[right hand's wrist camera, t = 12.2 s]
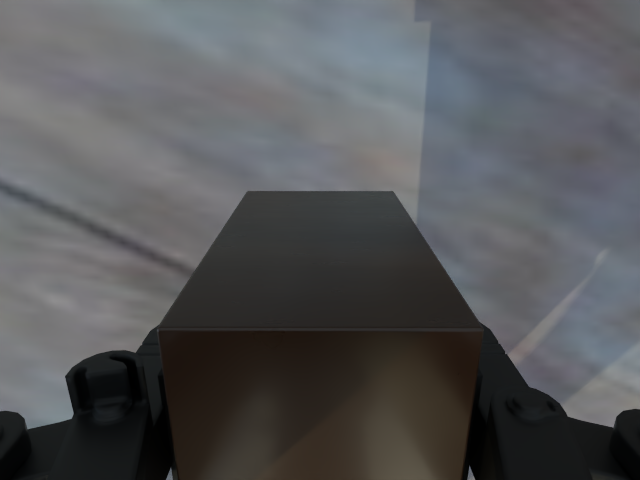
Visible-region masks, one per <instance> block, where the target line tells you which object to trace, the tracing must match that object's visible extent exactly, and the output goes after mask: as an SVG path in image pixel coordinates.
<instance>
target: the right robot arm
mask: <svg viewBox="0 0 640 480" xmlns="http://www.w3.org/2000/svg"><path fill="white" fill-rule="evenodd" d="M480 324H481V325H482V327H483V329H484V332H483V339H482V346H481V353H480V360H479V367H478V374H477V381H476V388H475V395H474V402H473V409H472V416H471V423H470V429H469V436H468V443H467V450H466V457H465V464H464V471H463V478H462V480H467V478H468V471H469V465H470V467H471V470H472V472H473V475H474V478H475V480H640V410H639V409H632V410H626V411H623V412H621V413H620V414H619V415H618V416H617V417H616V421H615V424H614V428H612V427H608V426H603V425H599V424H594V423H590V422H585V421H581V420H577V419H574V418H570V417H567V414H566V412H565V411H564V409H563V408H562V406H561V405H560V404H559V403H558V402H557V401H556V400H554V399H553V398H552V397H550V396H549V395H547V394H545V393H543V392H541V391H539V390H537V389H534V388H530V387H529V386H528V385H527V383H526V382H525V380H524V379H523V377H522V376H521V374H520V373H519V372H518V370H517V369H516V367H515V366H514V364H513V363H512V361H511V360H510V358H509V357H508V355H507V354H505V351H504V349H503V348H502V346H501V345H500V344H498V340H497V339H496V337H495V336H494V335H493V333H492V332H491V330H490V329H489V328H487V327H486V326H484V325H483V324H482V323H480ZM158 326H159V325H158ZM158 326H157V327H155V328H154V329H152V330H151V331H150V332H149V334H148V335H147V337H146V338H145V340H144V341H143V343H142V345H141V346H140V347H139V349H138V350H137V352H136V353H134V352H130V351H126V350H123V351H109V352H104V353H100V354H96V355H94V356H91V357H89V358H87V359H84V360H83V361H81V362H80V363H78V364H77V365H75V366H74V367H72V368H71V370H70V371H69V372H68V373H67V375H66V376H65V378H66V382H67V386H68V390H69V395H70V399H71V403H72V407H73V412H74V415H73V417H72V419H70V420H66V421H63V422H59V423H55V424H50V425H45V426H41V427H36V428H32V429H27V426H26V423H25V419H24V418H23V417H22V416H21V415H20V414H19V413H16V412H10V411H0V480H166V478H167V475H168V473H169V470H170V468H171V469H172V476H173V480H178V476H177V469H176V462H175V455H174V448H173V441H172V434H171V427H170V419H169V412H168V405H167V398H166V391H165V384H164V377H163V370H162V363H161V356H160V349H159V342H158V335H157V328H158Z"/></svg>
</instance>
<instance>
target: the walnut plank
mask: <svg viewBox="0 0 640 480" xmlns="http://www.w3.org/2000/svg"><path fill="white" fill-rule="evenodd" d="M483 332H484V329H483V327H482V325H481V324H480V322H479V321H478V319H477V318H476V316H475V315H474V313H473V312H472V310H471V309H470V307H469V306H468V304H467V303H466V301H465V300H464V298H463V297H462V295H461V294H460V292H459V290H458V289H457V287H456V286H455V284H454V283H453V281H452V280H451V278H450V277H449V275H448V274H447V272H446V271H445V269H444V268H443V266H442V265H441V263H440V262H439V260H438V259H437V257H436V256H435V254H434V252H433V251H432V249H431V248H430V246H429V245H428V243H427V242H426V240H425V239H424V237H423V236H422V234H421V233H420V231H419V230H418V228H417V227H416V225H415V224H414V222H413V221H412V219H411V217H410V216H409V214H408V213H407V211H406V210H405V208H404V207H403V205H402V204H401V202H400V201H399V199H398V198H397V196H396V195H395V193H394V192H393V191H248V192H247V193H246V194H245V196H244V197H243V199H242V200H241V202H240V203H239V205H238V206H237V208H236V209H235V211H234V212H233V214H232V215H231V217H230V218H229V220H228V221H227V223H226V224H225V226H224V227H223V229H222V230H221V232H220V233H219V235H218V237H217V238H216V240H215V241H214V243H213V244H212V246H211V247H210V249H209V250H208V252H207V253H206V255H205V256H204V258H203V259H202V261H201V262H200V264H199V265H198V267H197V268H196V270H195V271H194V273H193V274H192V276H191V277H190V279H189V281H188V282H187V284H186V285H185V287H184V288H183V290H182V291H181V293H180V294H179V296H178V297H177V299H176V300H175V302H174V303H173V305H172V306H171V308H170V309H169V311H168V312H167V314H166V315H165V317H164V318H163V320H162V321H161V323H160V325H159V326H158V328H157V335H158V342H159V349H160V356H161V363H162V370H163V377H164V384H165V391H166V398H167V405H168V412H169V419H170V427H171V434H172V441H173V448H174V455H175V462H176V469H177V476H178V480H462V478H463V471H464V464H465V457H466V450H467V443H468V436H469V429H470V423H471V416H472V409H473V402H474V395H475V388H476V381H477V374H478V367H479V360H480V353H481V346H482V339H483Z"/></svg>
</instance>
